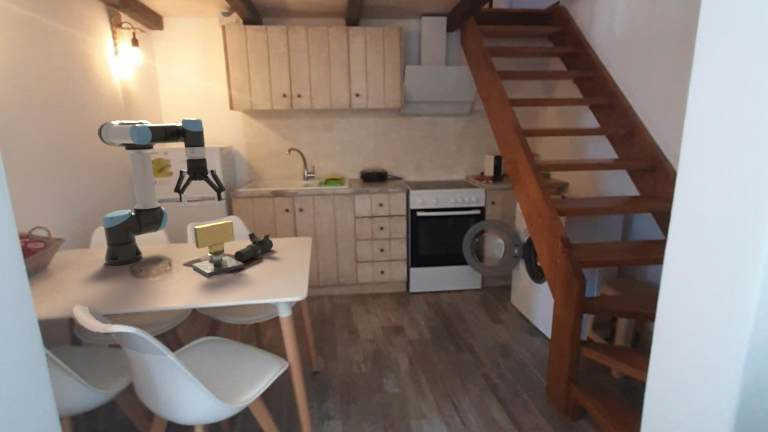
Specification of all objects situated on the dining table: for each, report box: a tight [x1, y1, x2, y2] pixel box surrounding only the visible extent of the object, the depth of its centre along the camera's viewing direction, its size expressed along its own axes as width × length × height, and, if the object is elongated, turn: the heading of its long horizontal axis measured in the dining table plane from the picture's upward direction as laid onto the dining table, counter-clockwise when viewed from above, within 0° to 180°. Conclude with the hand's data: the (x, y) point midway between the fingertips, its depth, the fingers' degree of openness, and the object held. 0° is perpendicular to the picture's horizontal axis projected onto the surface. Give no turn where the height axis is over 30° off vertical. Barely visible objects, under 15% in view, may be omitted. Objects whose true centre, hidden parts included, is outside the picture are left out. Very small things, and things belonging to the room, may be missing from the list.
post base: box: [192, 253, 245, 278], centre depth 185 cm, size 16×16×7 cm
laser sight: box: [234, 232, 274, 263], centre depth 202 cm, size 10×22×10 cm, turn 158°
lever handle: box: [193, 219, 235, 255], centre depth 183 cm, size 6×16×13 cm, turn 136°
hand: (202, 209), depth 173 cm, fingers open, 13 cm apart
